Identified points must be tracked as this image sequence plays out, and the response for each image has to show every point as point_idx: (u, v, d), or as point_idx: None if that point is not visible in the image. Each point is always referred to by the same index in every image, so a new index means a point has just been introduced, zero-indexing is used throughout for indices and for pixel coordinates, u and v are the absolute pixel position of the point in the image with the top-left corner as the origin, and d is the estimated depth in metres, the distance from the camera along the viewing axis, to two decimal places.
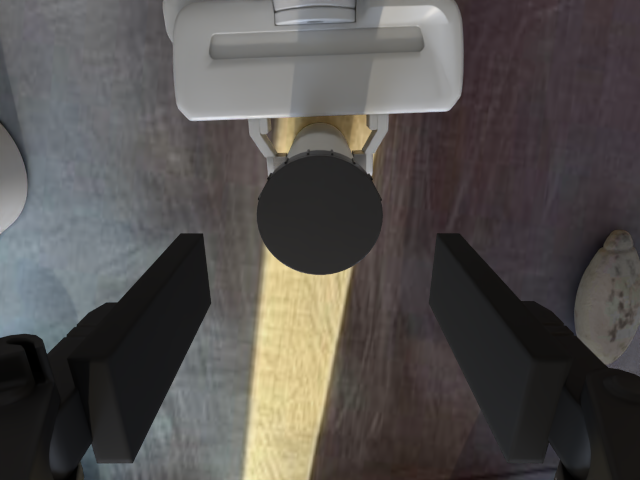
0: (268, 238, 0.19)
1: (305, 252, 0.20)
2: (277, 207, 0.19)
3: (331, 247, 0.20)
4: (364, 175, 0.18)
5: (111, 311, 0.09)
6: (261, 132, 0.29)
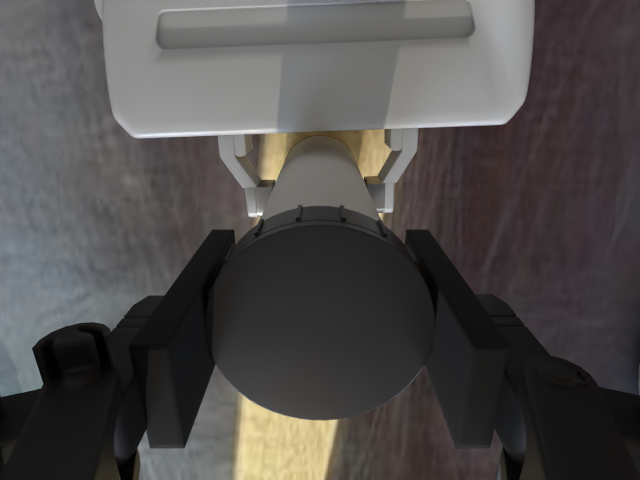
0: (227, 364, 0.11)
1: (294, 386, 0.11)
2: (242, 315, 0.10)
3: (341, 379, 0.11)
4: (405, 260, 0.10)
5: (161, 302, 0.09)
6: (237, 154, 0.21)
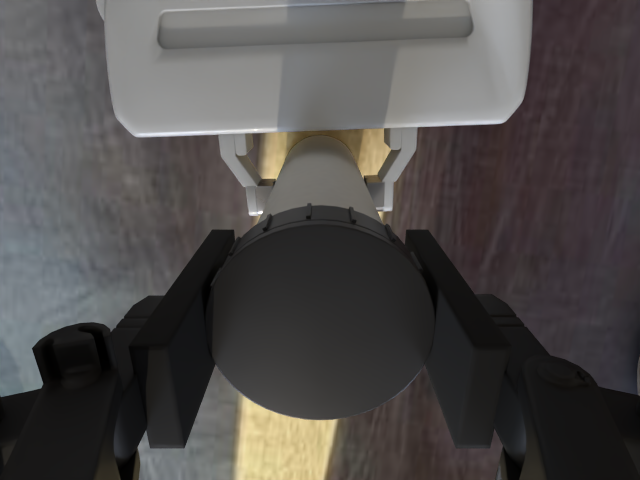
0: (372, 400, 0.11)
1: (390, 344, 0.10)
2: (313, 395, 0.11)
3: (373, 305, 0.10)
4: (219, 278, 0.10)
5: (161, 302, 0.09)
6: (237, 153, 0.21)
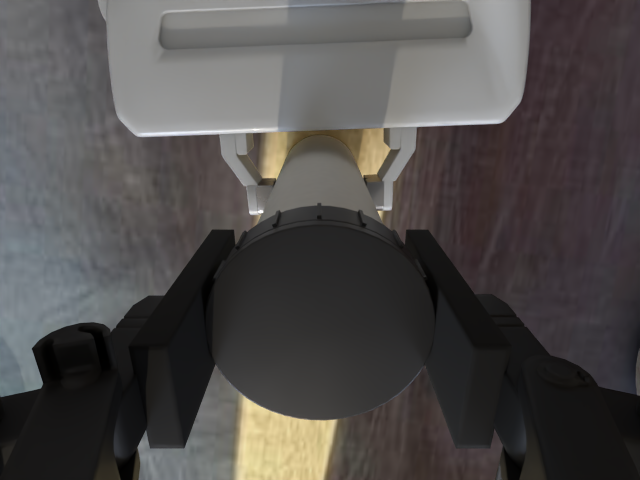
0: (399, 268, 0.10)
1: (320, 268, 0.10)
2: (399, 326, 0.10)
3: (276, 294, 0.10)
4: (281, 413, 0.11)
5: (161, 302, 0.09)
6: (238, 152, 0.21)
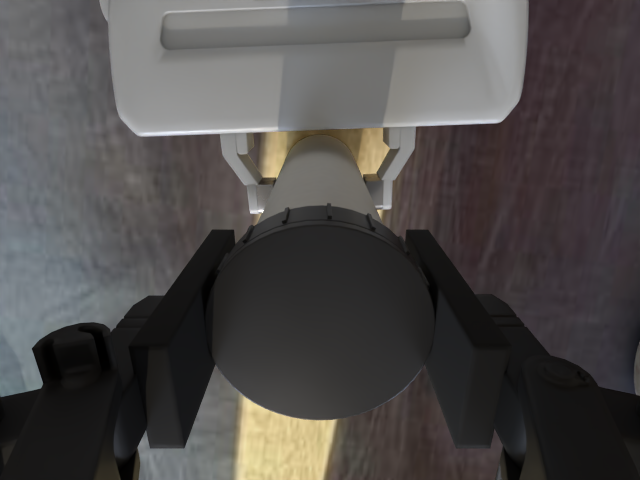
0: (230, 280, 0.10)
1: (249, 344, 0.10)
2: (294, 264, 0.10)
3: (285, 373, 0.11)
4: (428, 352, 0.11)
5: (161, 303, 0.09)
6: (239, 152, 0.21)
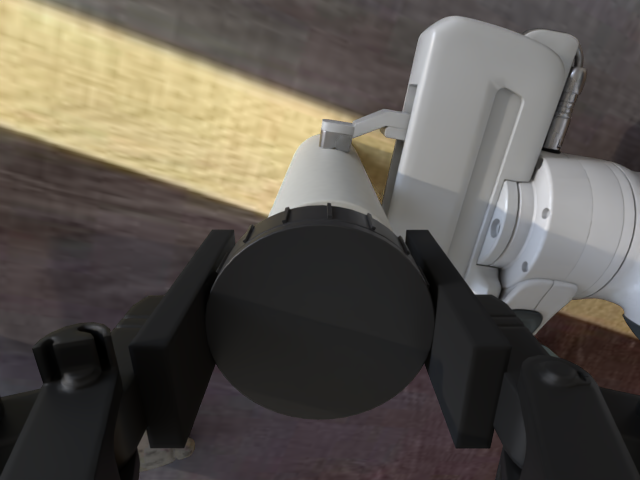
0: (230, 279, 0.10)
1: (249, 344, 0.11)
2: (294, 264, 0.10)
3: (285, 372, 0.11)
4: (428, 351, 0.11)
5: (161, 302, 0.09)
6: (388, 128, 0.22)
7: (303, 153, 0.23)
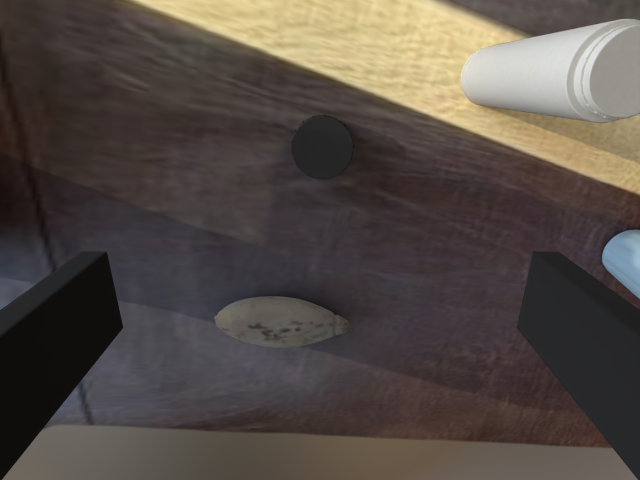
0: (299, 132, 0.38)
1: (303, 152, 0.39)
2: (316, 127, 0.38)
3: (312, 161, 0.39)
4: (351, 154, 0.39)
5: None
6: None
7: (508, 44, 0.31)
